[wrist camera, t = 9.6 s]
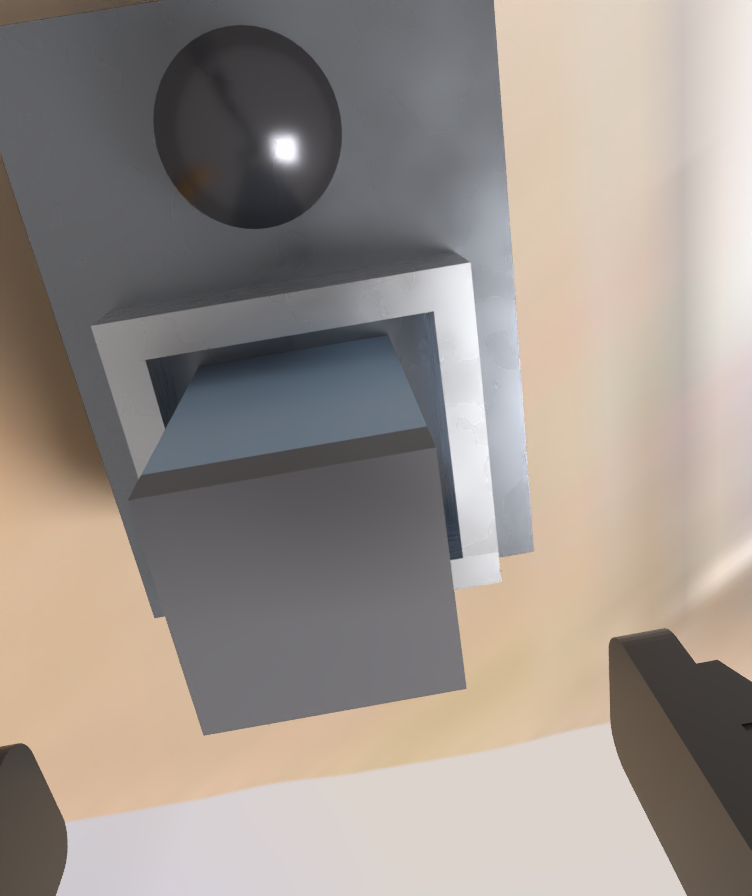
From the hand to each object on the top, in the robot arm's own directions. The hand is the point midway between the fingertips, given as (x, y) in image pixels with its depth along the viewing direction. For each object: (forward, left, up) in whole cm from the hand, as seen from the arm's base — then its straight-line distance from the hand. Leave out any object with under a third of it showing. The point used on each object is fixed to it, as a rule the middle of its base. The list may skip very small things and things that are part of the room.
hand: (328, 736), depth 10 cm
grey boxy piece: (-3, 0, -18) cm, 19 cm away
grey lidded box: (0, 0, -11) cm, 11 cm away
